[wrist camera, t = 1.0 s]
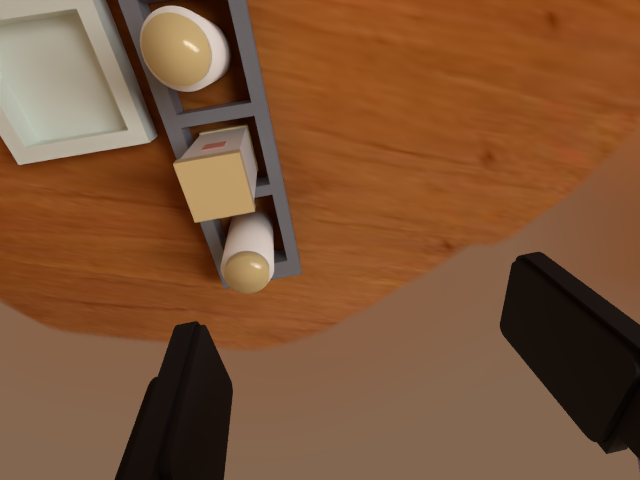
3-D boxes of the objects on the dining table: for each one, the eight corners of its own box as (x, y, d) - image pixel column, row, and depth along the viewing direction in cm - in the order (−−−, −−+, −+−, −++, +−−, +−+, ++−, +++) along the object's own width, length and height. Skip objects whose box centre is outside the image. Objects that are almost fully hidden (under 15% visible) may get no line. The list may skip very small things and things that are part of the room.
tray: (-48, 11, 23) (-81, 7, 21) (102, -11, 24) (85, -17, 21) (37, 156, 28) (18, 165, 26) (158, 135, 29) (149, 142, 27)
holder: (119, -28, 23) (104, -36, 21) (237, -45, 24) (234, -55, 21) (226, 275, 37) (224, 288, 35) (300, 261, 37) (301, 273, 35)
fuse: (201, 131, 29) (172, 163, 20) (247, 123, 29) (239, 152, 21) (215, 175, 31) (194, 222, 23) (258, 168, 31) (255, 211, 23)
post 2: (225, 210, 33) (211, 258, 25) (268, 202, 33) (267, 248, 26) (236, 247, 35) (227, 301, 28) (276, 239, 36) (279, 291, 28)
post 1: (165, 23, 25) (119, 10, 17) (223, 14, 25) (202, -3, 17) (185, 86, 27) (152, 99, 19) (238, 77, 27) (226, 87, 20)
